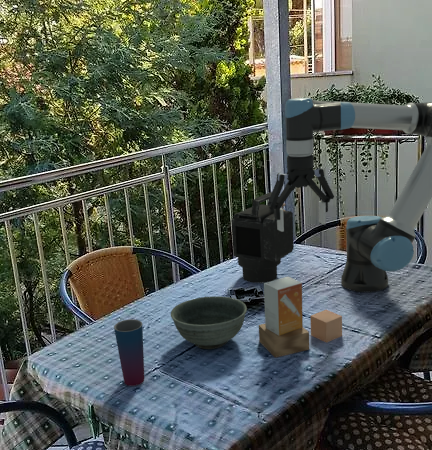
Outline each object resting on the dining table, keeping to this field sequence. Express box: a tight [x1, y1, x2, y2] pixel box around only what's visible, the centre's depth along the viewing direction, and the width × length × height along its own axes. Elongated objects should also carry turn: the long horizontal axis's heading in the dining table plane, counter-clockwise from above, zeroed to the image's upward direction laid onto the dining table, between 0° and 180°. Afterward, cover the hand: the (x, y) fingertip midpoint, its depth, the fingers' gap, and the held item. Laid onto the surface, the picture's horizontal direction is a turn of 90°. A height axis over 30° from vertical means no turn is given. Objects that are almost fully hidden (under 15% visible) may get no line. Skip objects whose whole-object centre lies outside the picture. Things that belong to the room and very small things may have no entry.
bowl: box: [170, 295, 248, 350], centre depth 162 cm, size 21×21×10 cm
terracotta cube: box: [310, 309, 343, 343], centre depth 162 cm, size 6×6×6 cm
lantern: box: [230, 191, 295, 284], centre depth 204 cm, size 15×18×30 cm
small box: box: [263, 276, 304, 336], centre depth 155 cm, size 8×6×13 cm
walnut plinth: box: [258, 323, 310, 359], centre depth 158 cm, size 10×10×5 cm
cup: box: [113, 318, 145, 387], centre depth 144 cm, size 7×7×15 cm
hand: (301, 226), depth 171 cm, fingers open, 13 cm apart
